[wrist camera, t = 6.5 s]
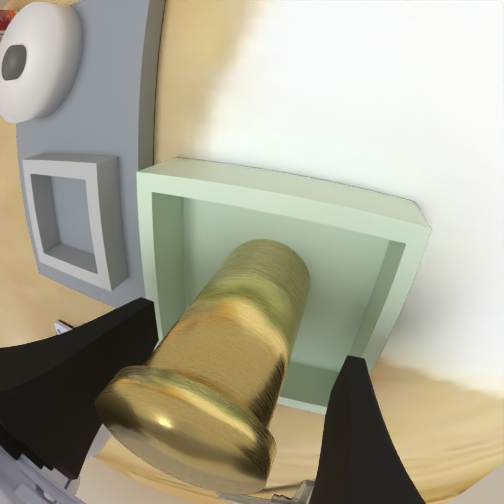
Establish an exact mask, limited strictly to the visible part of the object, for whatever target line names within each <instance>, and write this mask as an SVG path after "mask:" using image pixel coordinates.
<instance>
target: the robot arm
mask: <svg viewBox="0 0 504 504" xmlns="http://www.w3.org/2000/svg"><path fill="white" fill-rule="evenodd" d="M54 325H55V328H56V331H57V333H58V335H56V336H53V337H50V338H47V339H43V340H39V341H35V342H31V343H27V344H23V345H18V346H12V347H5V348H0V504H86V503H84V502H83V501H81V500H80V499H78V498H77V497H75V494H76V492H77V490H78V487H79V484H80V476H79V474H80V471H81V468H82V466H83V463H84V461H85V459H86V458H89V457H92V456H94V455H96V454H98V453H99V452H100V451H101V450H102V449H103V447H104V446H105V444H106V443H107V442H108V440H109V439H110V437H111V436H112V434H111V433H110V432H109V431H108V429H107V428H106V427H105V426H104V424H103V423H102V421H101V420H100V418H99V417H98V415H97V412H96V409H95V400H96V398H97V397H98V396H99V395H100V394H101V392H102V391H103V390H104V389H105V387H106V386H107V385H108V384H109V382H110V381H111V380H112V379H113V378H114V376H115V375H116V374H117V373H118V371H119V370H121V369H123V368H125V367H128V366H136V365H139V366H142V365H143V364H144V363H145V361H146V360H147V359H148V357H149V356H150V355H151V353H152V352H153V350H154V348H155V346H156V345H157V343H158V341H159V337H158V330H157V322H156V315H155V307H154V301H151V300H148V299H145V298H142V297H140V298H138V299H135V300H133V301H131V302H129V303H127V304H125V305H123V306H121V307H119V308H117V309H115V310H113V311H111V312H109V313H107V314H105V315H103V316H101V317H98V318H96V319H94V320H92V321H90V322H88V323H85V324H83V325H81V326H79V327H76V328H74V329H72V328H70V327H68V326H66V325H65V324H63V323H61V322H59V321H56V322H55V323H54ZM308 504H426V503H425V501H424V500H423V499H422V497H421V495H420V494H419V492H418V490H417V489H416V487H415V485H414V484H413V482H412V480H411V479H410V477H409V476H408V474H407V472H406V470H405V468H404V466H403V464H402V462H401V460H400V458H399V456H398V454H397V452H396V450H395V447H394V445H393V443H392V440H391V438H390V435H389V433H388V430H387V428H386V425H385V423H384V420H383V417H382V414H381V411H380V408H379V405H378V402H377V399H376V396H375V393H374V389H373V386H372V383H371V379H370V375H369V372H368V368H367V364H366V361H365V359H364V358H360V357H355V356H350V355H347V357H346V359H345V361H344V364H343V366H342V368H341V370H340V373H339V375H338V377H337V379H336V381H335V383H334V386H333V388H332V390H331V393H330V398H329V402H328V406H327V411H326V415H325V423H324V431H323V438H322V446H321V453H320V460H319V466H318V471H317V476H316V480H315V484H314V487H313V491H312V494H311V497H310V500H309V503H308Z"/></svg>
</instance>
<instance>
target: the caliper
mask: <svg viewBox="0 0 504 504" xmlns="http://www.w3.org/2000/svg"><path fill="white" fill-rule="evenodd" d="M313 484H314V482H312V481H310V480H304V482H303V483H302V485H301V486H300V487H299V489H298V490H297V492H296V493H295V494H294V496H293V497H292V499H290V498H288V497H286V496H283V495H280V496H279V495H276V494H274V495H273V497H272V499H271V500H270V499H263V498H257V497H252V496H246V495H241V494H227V493H220V492H216V493H217V495H219V497H218V498H220V499H222V500H225V501H228V502H232V503H235V504H308V503H309V500H310V497H311V494H312V491H313V487H314V486H313ZM305 502H306V503H305Z"/></svg>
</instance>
